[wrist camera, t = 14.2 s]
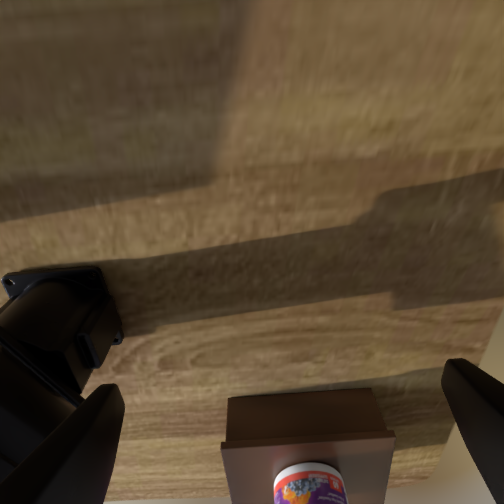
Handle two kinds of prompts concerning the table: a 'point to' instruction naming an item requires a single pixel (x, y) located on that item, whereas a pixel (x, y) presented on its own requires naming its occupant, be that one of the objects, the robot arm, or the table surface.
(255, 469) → the cabinet
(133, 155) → the table surface
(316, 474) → the pill bottle
